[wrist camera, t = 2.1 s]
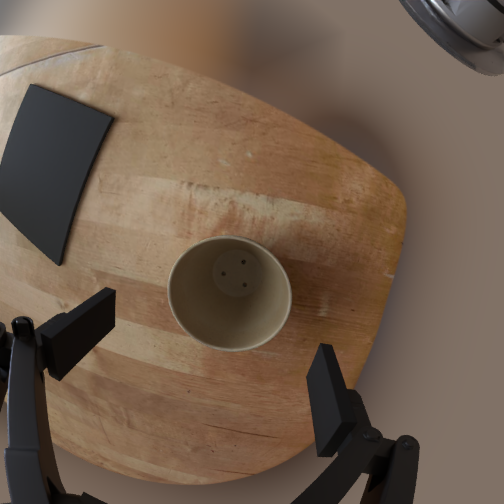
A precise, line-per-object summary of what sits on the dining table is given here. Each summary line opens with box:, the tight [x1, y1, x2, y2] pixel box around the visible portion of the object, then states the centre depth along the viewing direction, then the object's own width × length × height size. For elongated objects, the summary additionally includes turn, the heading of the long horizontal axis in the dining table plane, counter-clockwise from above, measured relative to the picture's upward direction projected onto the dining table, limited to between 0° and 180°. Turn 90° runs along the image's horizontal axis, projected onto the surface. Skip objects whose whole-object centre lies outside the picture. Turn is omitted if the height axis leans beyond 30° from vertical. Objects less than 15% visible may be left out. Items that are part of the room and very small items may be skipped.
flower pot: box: [168, 235, 292, 352], centre depth 25 cm, size 10×10×7 cm
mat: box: [0, 84, 114, 266], centre depth 27 cm, size 20×20×1 cm
